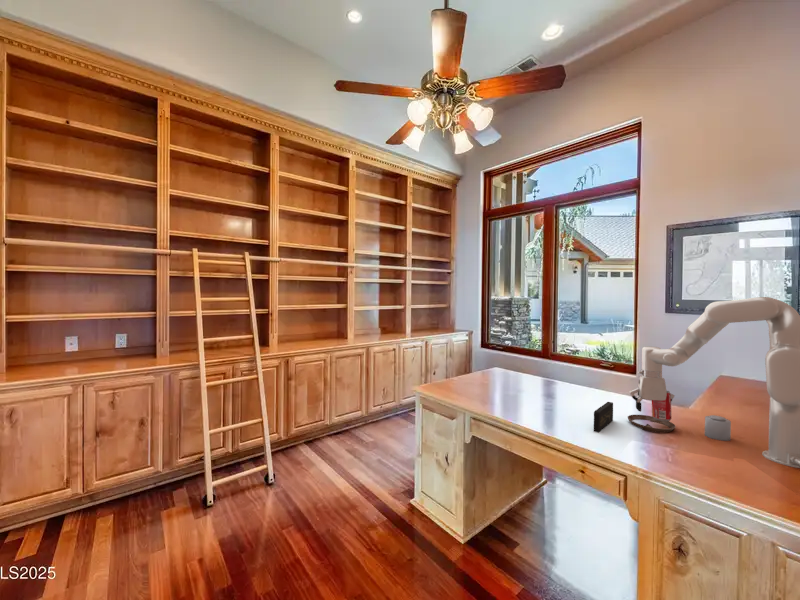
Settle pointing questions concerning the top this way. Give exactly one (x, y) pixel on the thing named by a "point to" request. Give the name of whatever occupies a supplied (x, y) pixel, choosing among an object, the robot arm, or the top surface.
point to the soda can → (662, 409)
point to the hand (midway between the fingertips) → (651, 411)
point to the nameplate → (603, 416)
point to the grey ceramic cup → (718, 428)
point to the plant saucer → (650, 418)
